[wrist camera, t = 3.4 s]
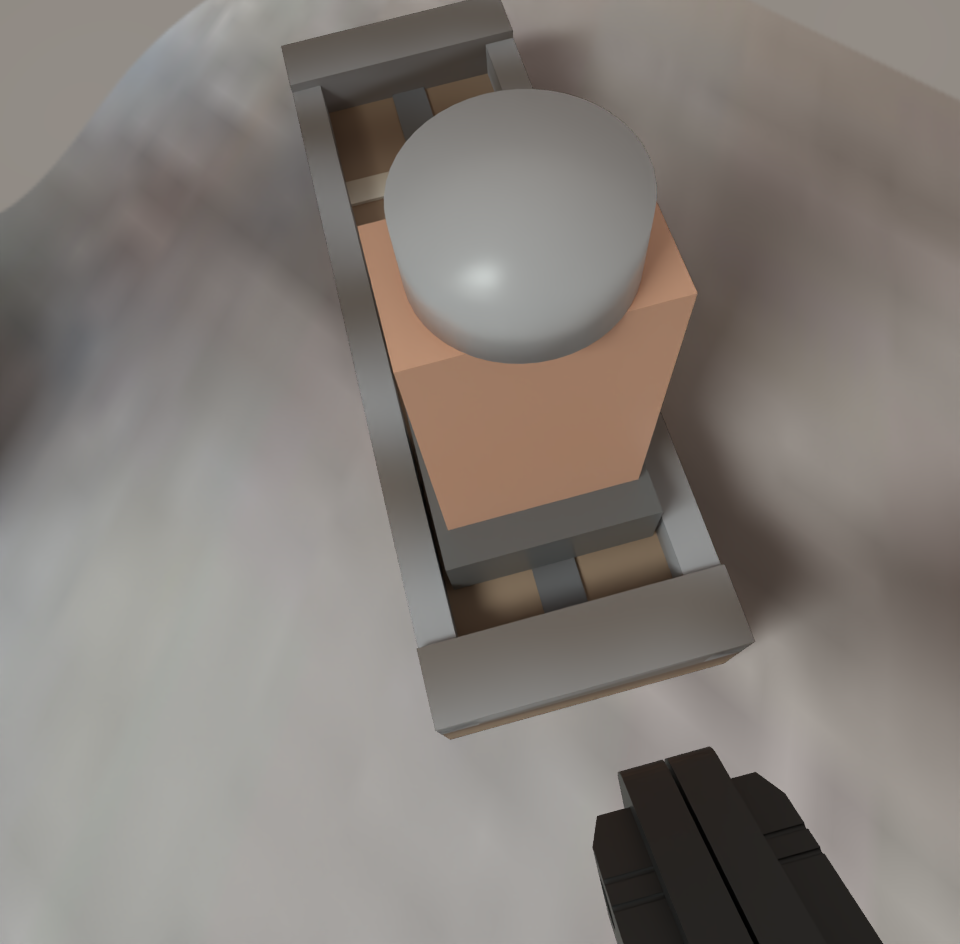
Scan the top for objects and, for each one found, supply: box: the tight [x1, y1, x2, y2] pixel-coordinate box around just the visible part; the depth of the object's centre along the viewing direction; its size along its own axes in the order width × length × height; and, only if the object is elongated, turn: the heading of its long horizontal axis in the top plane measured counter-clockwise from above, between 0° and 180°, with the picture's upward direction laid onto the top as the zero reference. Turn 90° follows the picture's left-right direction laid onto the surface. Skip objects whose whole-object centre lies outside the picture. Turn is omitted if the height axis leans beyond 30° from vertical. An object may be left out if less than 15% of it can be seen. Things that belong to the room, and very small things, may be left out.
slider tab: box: [357, 89, 698, 590], centre depth 17 cm, size 5×6×12 cm
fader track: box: [281, 0, 755, 740], centre depth 25 cm, size 24×8×4 cm, turn 15°
